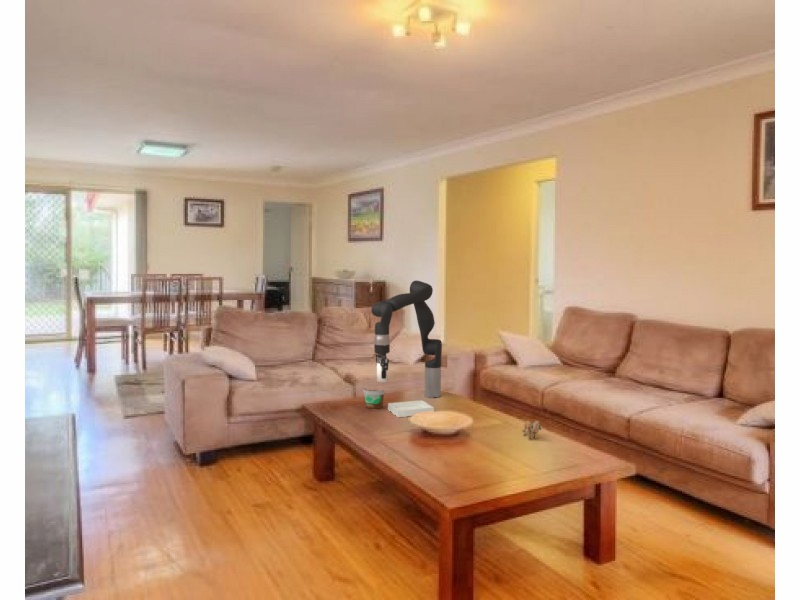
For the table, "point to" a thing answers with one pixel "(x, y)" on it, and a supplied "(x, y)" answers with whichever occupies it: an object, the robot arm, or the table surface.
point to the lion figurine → (532, 428)
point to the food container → (374, 399)
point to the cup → (380, 374)
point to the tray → (409, 408)
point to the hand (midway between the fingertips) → (382, 377)
